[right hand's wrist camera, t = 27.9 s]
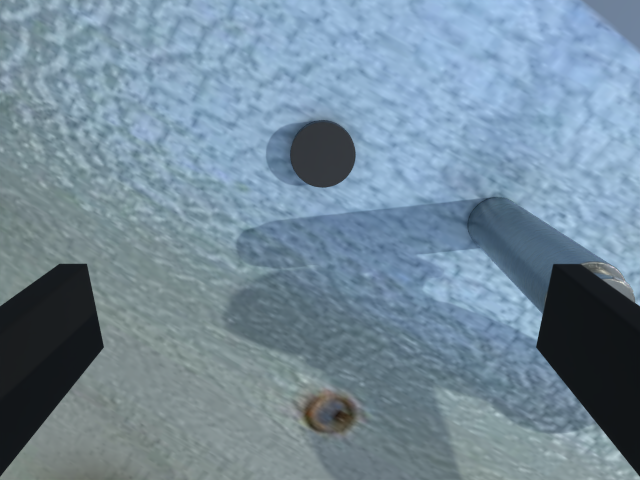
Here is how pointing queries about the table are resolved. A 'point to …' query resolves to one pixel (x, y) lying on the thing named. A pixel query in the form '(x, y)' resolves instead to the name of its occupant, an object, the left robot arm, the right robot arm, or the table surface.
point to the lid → (322, 153)
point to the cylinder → (532, 249)
